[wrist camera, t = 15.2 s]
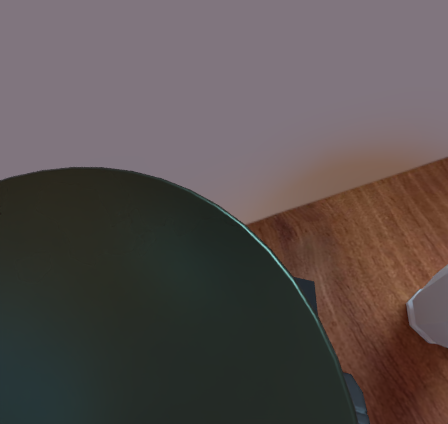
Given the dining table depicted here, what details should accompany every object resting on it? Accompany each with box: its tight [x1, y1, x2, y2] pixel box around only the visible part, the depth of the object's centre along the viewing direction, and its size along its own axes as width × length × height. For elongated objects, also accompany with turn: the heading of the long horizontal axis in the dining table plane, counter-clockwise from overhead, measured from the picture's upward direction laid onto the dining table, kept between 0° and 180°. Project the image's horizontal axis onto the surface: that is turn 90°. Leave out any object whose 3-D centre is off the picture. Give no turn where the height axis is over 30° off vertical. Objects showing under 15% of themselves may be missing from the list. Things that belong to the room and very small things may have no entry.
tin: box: [0, 167, 358, 424], centre depth 10 cm, size 7×7×15 cm
